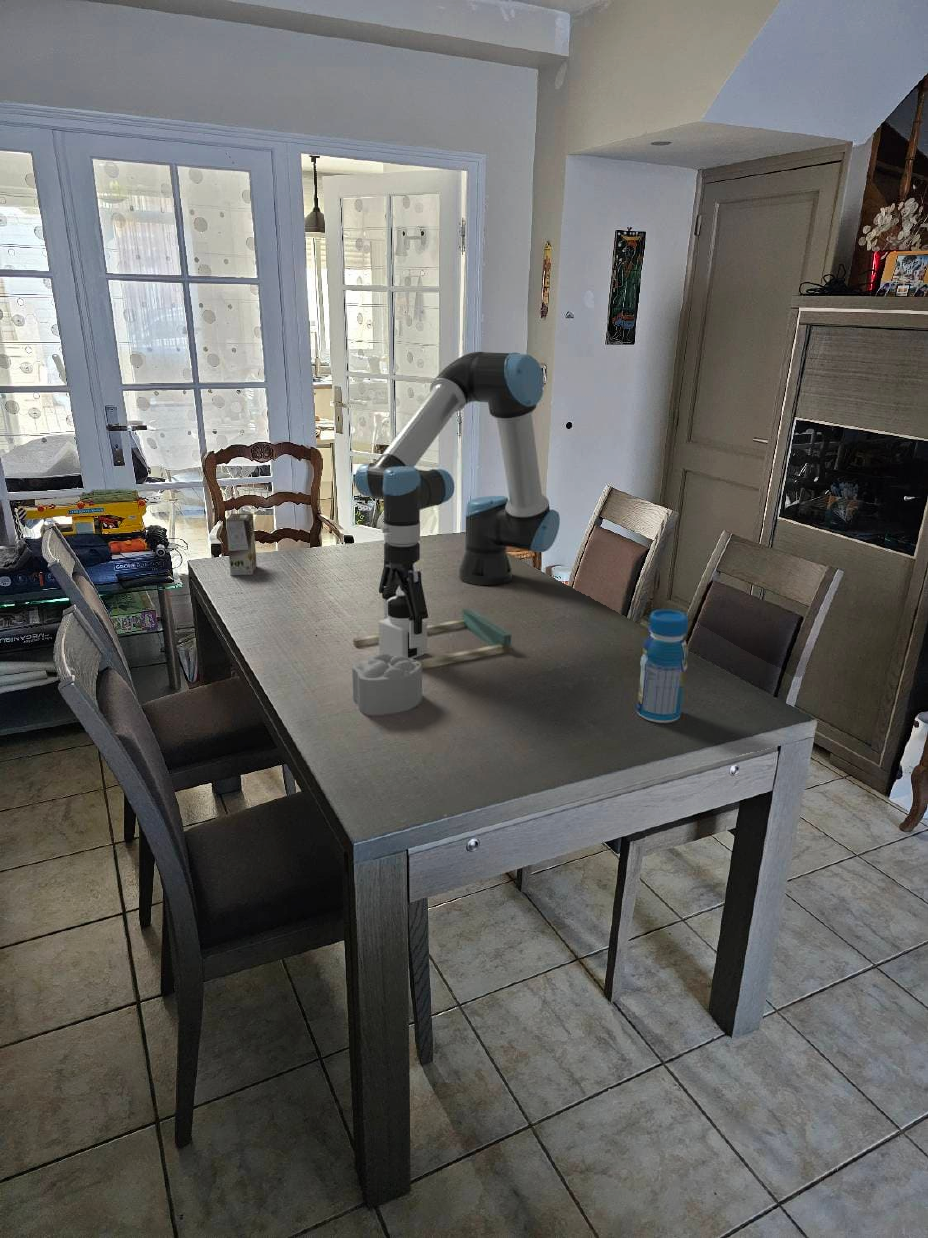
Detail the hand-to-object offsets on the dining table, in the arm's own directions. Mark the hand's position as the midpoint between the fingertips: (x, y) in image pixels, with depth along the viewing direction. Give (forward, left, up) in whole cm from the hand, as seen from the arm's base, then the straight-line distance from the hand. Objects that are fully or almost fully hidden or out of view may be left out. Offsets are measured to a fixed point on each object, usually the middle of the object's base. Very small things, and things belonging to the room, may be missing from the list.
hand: (402, 636), depth 174 cm
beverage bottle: (-31, +48, -4) cm, 57 cm away
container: (0, 0, -4) cm, 4 cm away
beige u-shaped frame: (-7, 0, -4) cm, 8 cm away
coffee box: (+16, -76, -4) cm, 78 cm away
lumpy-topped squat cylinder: (+12, +20, -4) cm, 24 cm away
